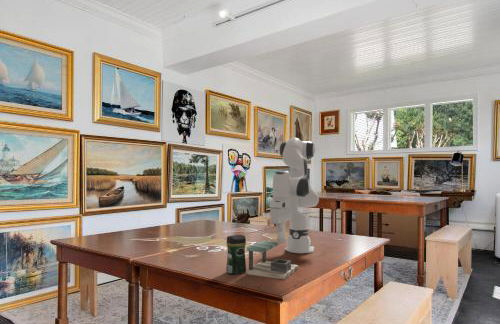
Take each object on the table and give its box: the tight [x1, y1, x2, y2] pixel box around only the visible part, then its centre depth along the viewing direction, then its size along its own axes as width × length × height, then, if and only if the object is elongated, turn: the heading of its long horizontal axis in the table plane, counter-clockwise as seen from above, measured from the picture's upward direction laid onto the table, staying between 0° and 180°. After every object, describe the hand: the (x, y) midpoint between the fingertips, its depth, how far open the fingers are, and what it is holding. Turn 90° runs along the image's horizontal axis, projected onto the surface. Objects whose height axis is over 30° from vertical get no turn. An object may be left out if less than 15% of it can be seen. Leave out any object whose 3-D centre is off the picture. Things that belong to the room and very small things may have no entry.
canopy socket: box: [246, 240, 299, 281], centre depth 173 cm, size 20×20×13 cm
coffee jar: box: [225, 234, 247, 275], centre depth 171 cm, size 10×8×19 cm
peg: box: [276, 218, 287, 244], centre depth 169 cm, size 4×4×12 cm
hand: (281, 230), depth 169 cm, fingers closed on peg, 4 cm apart
